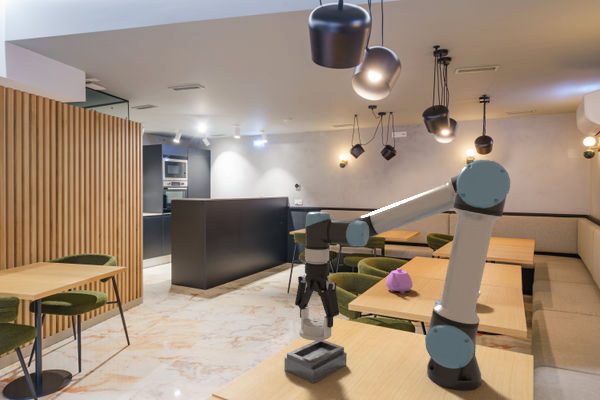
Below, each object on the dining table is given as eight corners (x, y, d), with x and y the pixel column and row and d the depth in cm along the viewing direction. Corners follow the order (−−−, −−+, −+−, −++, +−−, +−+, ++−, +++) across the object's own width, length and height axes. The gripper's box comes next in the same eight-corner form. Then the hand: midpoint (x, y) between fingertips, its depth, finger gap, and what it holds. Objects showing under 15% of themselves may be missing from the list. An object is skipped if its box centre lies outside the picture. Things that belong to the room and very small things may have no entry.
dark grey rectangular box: (351, 362, 126) (352, 345, 126) (313, 383, 112) (313, 365, 112) (323, 351, 134) (323, 335, 134) (284, 370, 120) (284, 352, 120)
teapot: (405, 297, 199) (406, 274, 199) (379, 293, 207) (379, 270, 206) (416, 288, 216) (417, 267, 216) (392, 285, 224) (392, 264, 223)
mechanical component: (337, 334, 122) (312, 326, 129) (337, 321, 122) (312, 313, 129) (318, 344, 115) (293, 335, 121) (318, 329, 115) (293, 321, 121)
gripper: (352, 265, 116) (350, 339, 117) (299, 255, 131) (299, 321, 132) (337, 268, 111) (335, 346, 112) (284, 258, 125) (283, 327, 126)
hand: (315, 332), depth 122 cm, fingers closed on mechanical component, 9 cm apart
